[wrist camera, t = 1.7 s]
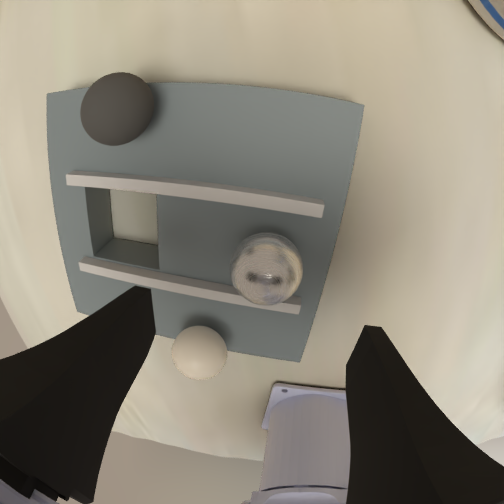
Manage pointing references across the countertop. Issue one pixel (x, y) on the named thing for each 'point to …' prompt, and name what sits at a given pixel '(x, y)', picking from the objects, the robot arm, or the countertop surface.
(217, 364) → the cream ball
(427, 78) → the countertop surface
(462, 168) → the countertop surface
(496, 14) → the supplement tub
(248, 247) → the steel ball
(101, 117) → the dark gray ball
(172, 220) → the grey board with rails
